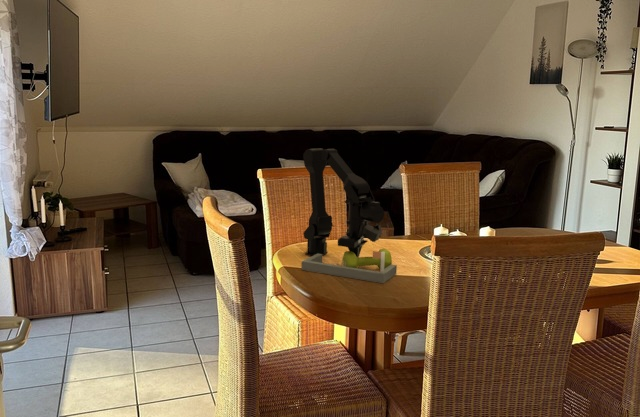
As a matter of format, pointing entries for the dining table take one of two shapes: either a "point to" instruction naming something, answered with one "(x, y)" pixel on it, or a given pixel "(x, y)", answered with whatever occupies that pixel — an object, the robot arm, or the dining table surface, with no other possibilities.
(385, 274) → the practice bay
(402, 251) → the dining table surface
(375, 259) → the dumbbell
